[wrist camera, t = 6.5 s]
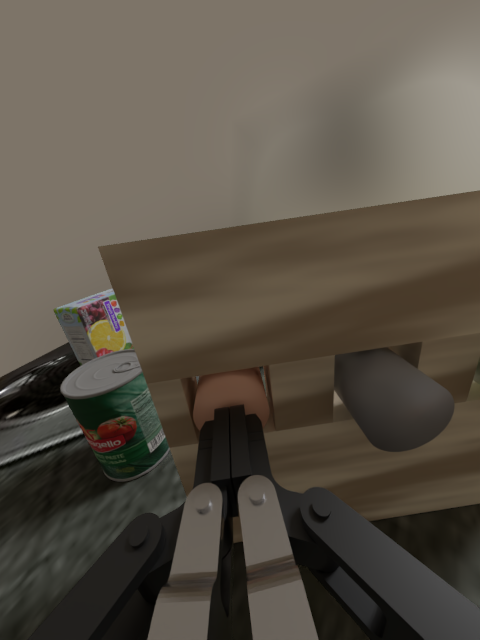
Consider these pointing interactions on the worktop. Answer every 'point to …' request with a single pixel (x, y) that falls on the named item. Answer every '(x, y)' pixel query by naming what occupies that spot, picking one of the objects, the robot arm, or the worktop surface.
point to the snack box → (94, 326)
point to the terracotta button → (230, 394)
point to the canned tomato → (117, 414)
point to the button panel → (318, 339)
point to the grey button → (391, 399)
